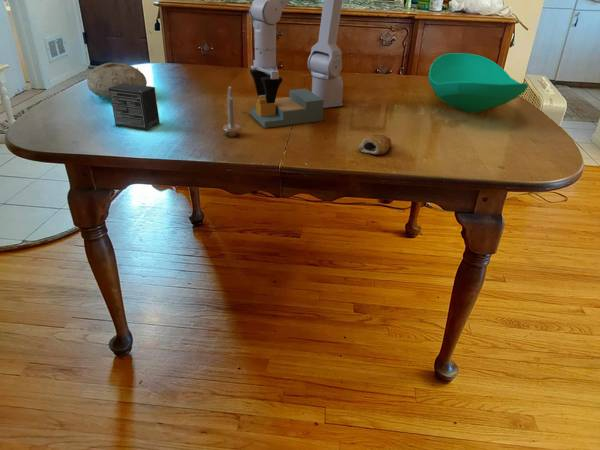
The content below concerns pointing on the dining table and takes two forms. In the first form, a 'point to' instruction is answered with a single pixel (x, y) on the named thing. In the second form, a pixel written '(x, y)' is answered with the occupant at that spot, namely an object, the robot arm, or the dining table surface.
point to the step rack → (293, 110)
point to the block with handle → (265, 107)
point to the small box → (134, 106)
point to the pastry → (375, 144)
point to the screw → (231, 116)
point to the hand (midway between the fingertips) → (265, 98)
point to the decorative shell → (113, 77)
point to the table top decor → (472, 82)
